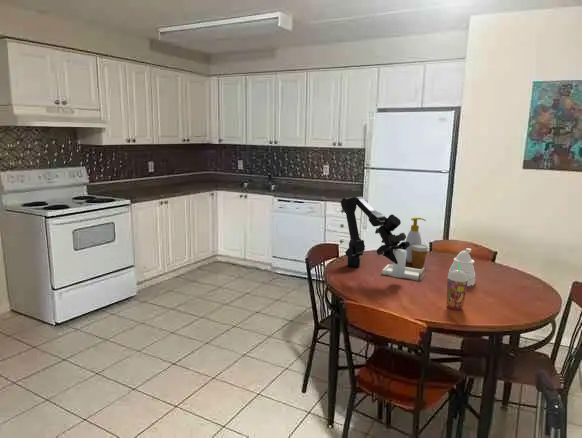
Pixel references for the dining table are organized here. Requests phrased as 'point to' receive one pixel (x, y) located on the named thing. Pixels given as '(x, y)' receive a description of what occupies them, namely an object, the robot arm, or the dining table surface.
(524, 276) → the dining table surface
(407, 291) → the dining table surface
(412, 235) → the soap bottle
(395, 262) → the robot arm
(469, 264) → the honey pot
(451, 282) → the smoothie
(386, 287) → the dining table surface
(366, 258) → the dining table surface
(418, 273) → the drawer
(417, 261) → the disposable coffee cup
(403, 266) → the white rounded wedge
